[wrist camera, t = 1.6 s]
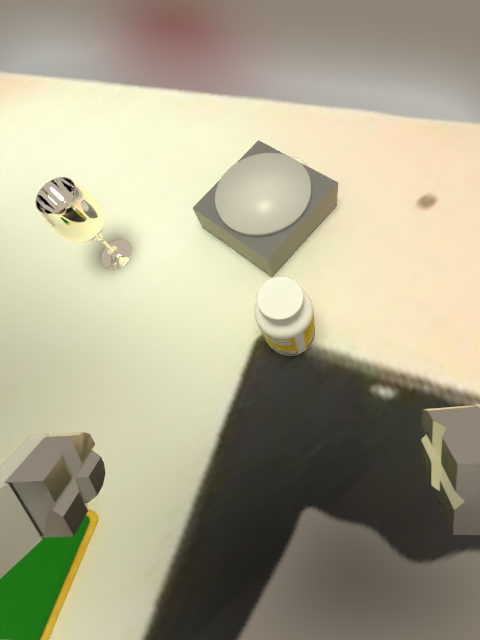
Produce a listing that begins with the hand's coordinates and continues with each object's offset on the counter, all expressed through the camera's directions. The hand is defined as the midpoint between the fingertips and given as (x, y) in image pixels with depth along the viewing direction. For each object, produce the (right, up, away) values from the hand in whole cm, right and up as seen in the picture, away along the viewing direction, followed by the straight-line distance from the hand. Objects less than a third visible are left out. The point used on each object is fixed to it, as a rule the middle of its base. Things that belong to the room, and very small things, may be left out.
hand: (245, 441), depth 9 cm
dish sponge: (-20, -23, +27) cm, 41 cm away
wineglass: (-17, +12, +39) cm, 44 cm away
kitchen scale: (+3, +16, +36) cm, 39 cm away
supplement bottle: (+5, +1, +30) cm, 31 cm away
